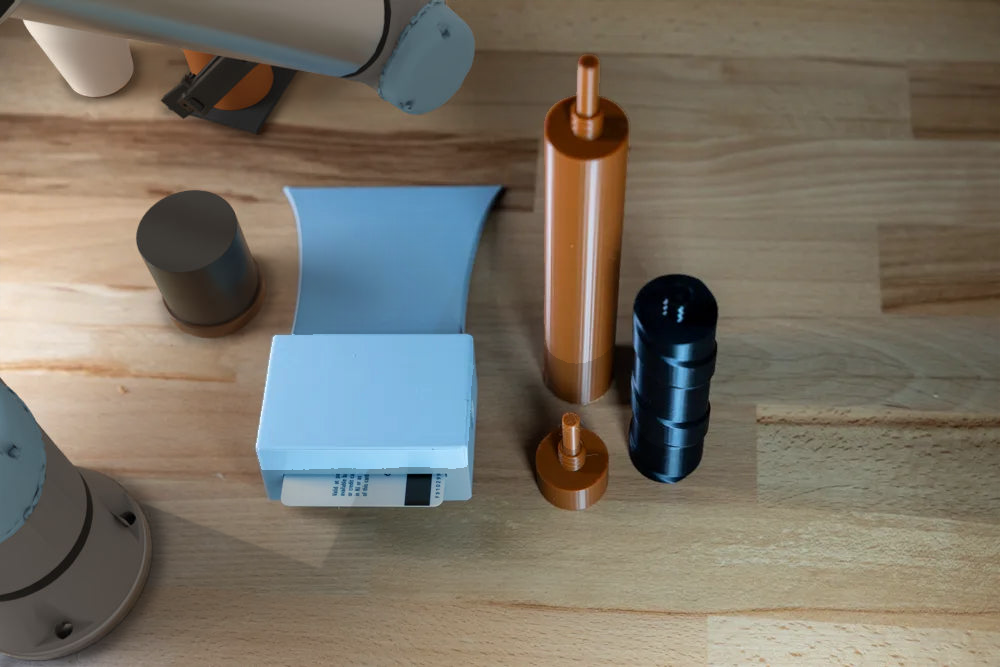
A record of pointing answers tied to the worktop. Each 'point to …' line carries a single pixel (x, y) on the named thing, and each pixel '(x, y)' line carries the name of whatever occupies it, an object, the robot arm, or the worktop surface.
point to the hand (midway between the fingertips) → (207, 58)
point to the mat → (257, 113)
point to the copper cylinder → (245, 90)
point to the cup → (85, 57)
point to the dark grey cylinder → (201, 263)
